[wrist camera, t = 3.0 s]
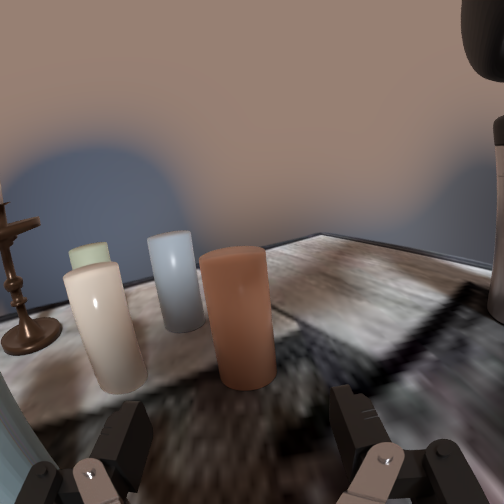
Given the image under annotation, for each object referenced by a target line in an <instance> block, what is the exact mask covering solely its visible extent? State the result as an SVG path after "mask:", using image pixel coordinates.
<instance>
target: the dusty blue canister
mask: <svg viewBox="0 0 504 504" xmlns="http://www.w3.org/2000/svg"><path fill="white" fill-rule="evenodd" d="M147 242H148V248H149V253H150V259H151V264H152V269H153V274H154V279H155V284H156V289H157V293H158V298H159V302H160V307H161V311H162V315H163V320H164V324H165V328H166V329H167V330H168V331H170V332H174V333H185V332H190V331H193V330H196V329H198V328H199V327H201V326H202V325H203V324H204V323H205V317H204V311H203V306H202V300H201V294H200V289H199V283H198V277H197V271H196V265H195V259H194V252H193V246H192V239H191V233H190V232H189V231H173V232H167V233H162V234H158V235H155V236H152V237H150V238H148V239H147Z"/></svg>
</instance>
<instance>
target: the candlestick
mask: <svg viewBox="0 0 504 504" xmlns="http://www.w3.org/2000/svg"><path fill="white" fill-rule="evenodd" d="M8 203H9V202H7V203H3V198H2V191H1V182H0V252H1V256H2V260H3V265H4V269H5V273H6V276H7V280H6V281H5V282H4V288H5V289H6V290H7V291H8V292H10V293H11V296H12V299H13V301H12V302H11V306H12V307H16V310H17V313H18V316H19V319H20V320H19V325H17V326H15V327H13V328H12V329H10V330H9V331H8V332H7V333H5V334H4V336H3V337H2V339H1V345H2V347H3V349H4V352H5V353H7V354H9V355H13V356H20V355H26V354H30V353H33V352H36V351H39V350H41V349H43V348H45V347H47V346H48V345H50V344H51V343H53V342H54V341H55V340H56V339H57V338H58V337H59V336H60V334H61V327H60V324H59V321H58V320H57V319H55V318H50V317H44V318H36V319H31V318H30V317H29V316H28V313H27V310H26V307H25V304H24V303H26V302H27V298H26V297H23V295H22V292H21V288H22V286H23V279H22V278H21V277H19V276H16V273H15V269H14V265H13V261H12V257H11V253H10V248H9V247H10V246H12V245H13V241H14V240H15V239H16V238H17V235H18V234H21V233H23V232H26V231H28V230H31V229H33V228H36V227H38V226H40V225H41V224H40V218H39V217H33V218H29V219H24V220H20V221H16V222H13V223H9V224H7V219H6V213H5V207H4V205H6V204H8Z"/></svg>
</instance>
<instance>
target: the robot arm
mask: <svg viewBox="0 0 504 504" xmlns="http://www.w3.org/2000/svg"><path fill="white" fill-rule="evenodd" d="M461 33H462V39H463V46H464V50H465V53H466V56H467V58H468V60H469V63H470V64H471V66H472V67H473V69H474V70H475V71H476V72H477V73H478V74H479V75H480V76H482V77H483V78H486V79H488V80H492V81H496V82H504V0H462V7H461ZM493 133H494V142H495V153H496V169H497V221H496V238H495V251H494V261H493V269H492V276H491V283H490V290H489V296H488V302H487V309H488V311H489V313H490V314H491V315H492V316H493V317H494V318H495V319H496V320H498V321H499V322H501V323H503V324H504V115H503V116H501V117H499V118H497V119H496V120H495V121H494V125H493ZM329 419H330V424H331V428H332V431H333V434H334V437H335V440H336V443H337V446H338V450H339V453H340V456H341V459H342V462H343V465H344V468H345V472H346V475H347V478H348V481H349V482H352V483H351V485H350V486H349V488H348V490H347V491H344V492H343V494H342V495H341V496H340V498H339V500H338V501H337V503H336V504H385V503H386V501H387V499H399V498H410V499H411V502H412V504H490V503H489V501H488V499H487V498H486V496H485V494H484V492H483V490H482V488H481V486H480V484H479V482H478V480H477V479H476V477H475V475H474V473H473V471H472V469H471V468H470V466H469V464H468V462H467V460H466V459H465V457H464V455H463V453H462V452H461V450H460V448H459V446H458V445H457V444H456V443H455V442H453V441H451V440H448V439H439V440H436V441H433V442H432V443H431V444H429V446H428V447H427V449H424V450H404V449H402V448H401V447H400V446H398V445H397V444H395V443H392V442H391V440H390V438H389V436H388V434H387V432H386V430H385V428H384V426H383V424H382V422H381V420H380V418H379V417H378V414H377V412H376V410H375V408H374V406H373V404H372V402H371V400H370V399H368V398H367V397H366V396H365V395H363V394H362V393H361V394H356V395H353V392H352V390H351V388H350V386H349V385H348V384H347V385H342V386H337V387H331V389H330V405H329ZM152 439H153V427H152V424H151V422H150V419H149V417H148V414H147V412H146V409H145V407H144V405H143V403H142V402H141V401H124V403H123V405H122V407H121V409H120V411H115V412H114V413H113V414H112V415H111V416H109V417H108V418H107V420H106V423H105V425H104V428H103V429H102V431H101V435H99V438H98V440H97V442H96V444H95V446H94V448H93V451H92V453H91V455H90V457H89V458H87V459H83V460H81V461H79V462H78V463H77V464H76V465H75V466H74V468H70V469H57V468H56V467H55V466H54V465H53V464H52V463H51V462H48V461H41V462H38V463H36V464H34V465H33V466H32V467H31V469H30V471H29V473H28V475H27V477H26V479H25V481H24V483H23V485H22V488H21V490H20V492H19V494H18V496H17V498H16V501H15V503H14V504H130V502H129V501H128V499H127V498H126V497H127V494H128V492H134V493H137V492H138V488H139V485H140V481H141V477H142V474H143V470H144V467H145V463H146V460H147V456H148V453H149V449H150V446H151V442H152Z"/></svg>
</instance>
